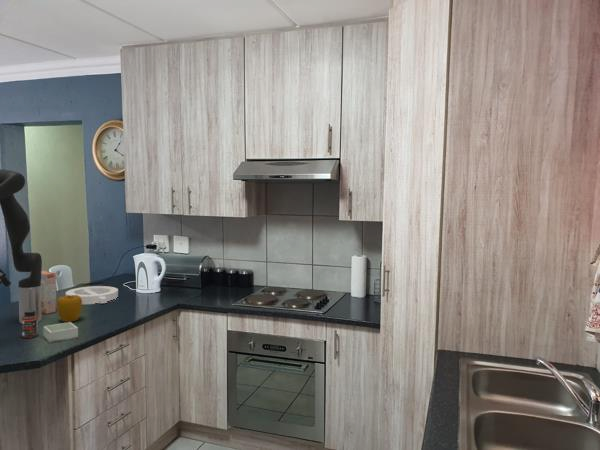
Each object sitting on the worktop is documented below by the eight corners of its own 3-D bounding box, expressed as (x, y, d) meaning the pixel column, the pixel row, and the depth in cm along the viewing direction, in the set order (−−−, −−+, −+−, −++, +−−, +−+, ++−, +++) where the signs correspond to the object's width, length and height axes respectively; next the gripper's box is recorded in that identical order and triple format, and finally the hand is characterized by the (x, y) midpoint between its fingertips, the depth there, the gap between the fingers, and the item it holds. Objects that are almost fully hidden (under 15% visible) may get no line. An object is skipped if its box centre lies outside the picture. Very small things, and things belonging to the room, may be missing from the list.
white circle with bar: (105, 305, 256) (105, 297, 256) (55, 304, 257) (55, 295, 256) (125, 294, 284) (125, 286, 284) (80, 293, 285) (80, 285, 284)
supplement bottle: (22, 339, 196) (22, 313, 195) (21, 335, 201) (20, 310, 200) (38, 337, 200) (38, 311, 199) (37, 333, 204) (36, 308, 204)
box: (43, 336, 201) (43, 326, 200) (70, 331, 208) (70, 322, 208) (49, 343, 192) (49, 332, 192) (78, 338, 200) (77, 327, 199)
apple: (76, 316, 232) (75, 291, 231) (86, 320, 226) (86, 294, 225) (53, 320, 224) (52, 294, 223) (63, 325, 217) (62, 298, 216)
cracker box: (56, 312, 239) (56, 272, 238) (45, 314, 234) (44, 274, 233) (41, 308, 246) (40, 269, 245) (29, 310, 241) (29, 271, 240)
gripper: (-8, 249, 182) (19, 279, 190) (-22, 248, 191) (5, 277, 199) (-25, 262, 177) (3, 292, 185) (-39, 260, 186) (-11, 289, 194)
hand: (4, 284), depth 192 cm, fingers open, 8 cm apart
